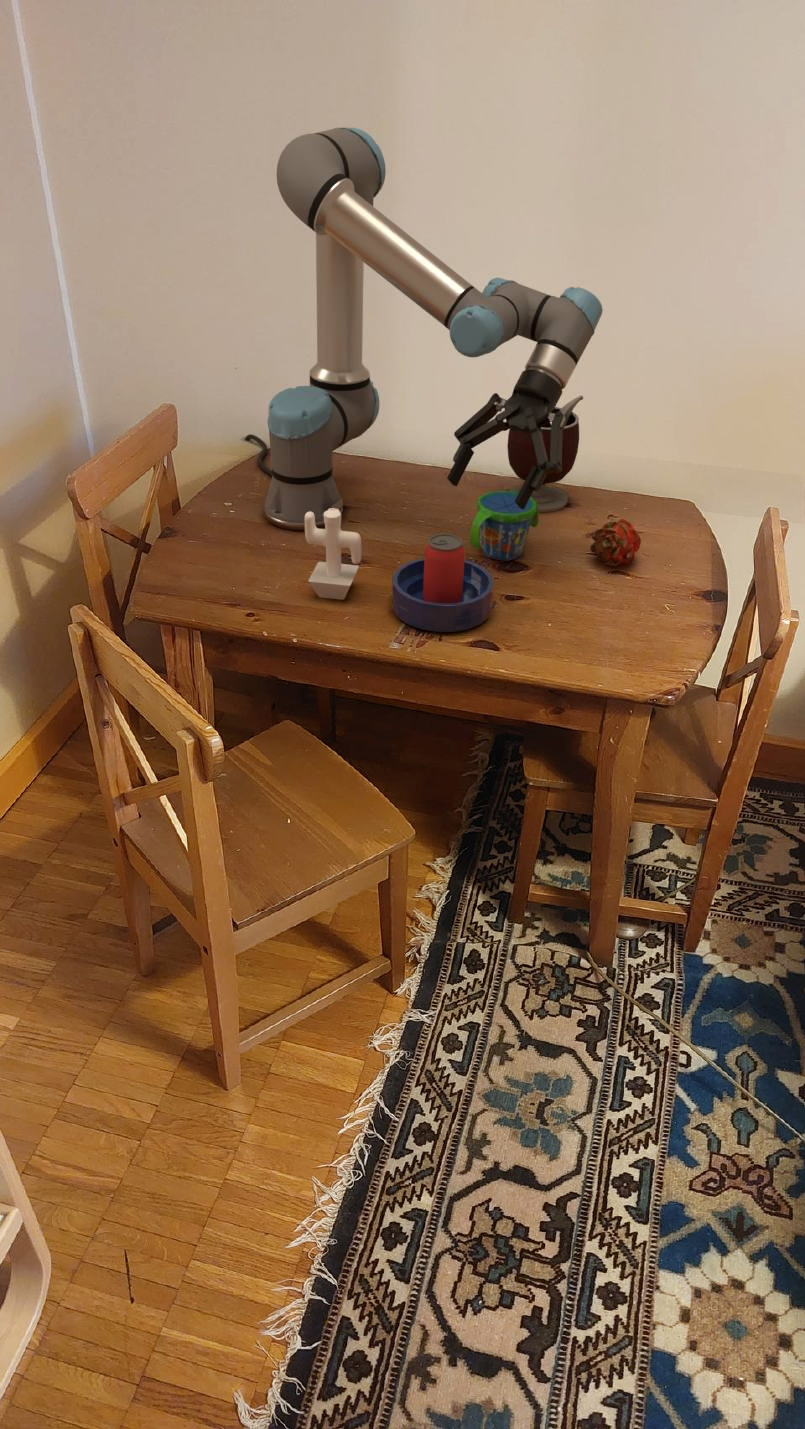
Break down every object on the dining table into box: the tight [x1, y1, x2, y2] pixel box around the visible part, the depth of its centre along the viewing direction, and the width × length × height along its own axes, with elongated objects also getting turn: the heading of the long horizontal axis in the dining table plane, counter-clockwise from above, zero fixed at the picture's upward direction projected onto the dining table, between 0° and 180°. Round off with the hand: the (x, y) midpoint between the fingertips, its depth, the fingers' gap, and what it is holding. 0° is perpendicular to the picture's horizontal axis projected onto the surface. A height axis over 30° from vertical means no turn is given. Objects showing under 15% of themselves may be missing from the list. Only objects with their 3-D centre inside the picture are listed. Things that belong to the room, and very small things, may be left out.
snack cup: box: [468, 490, 540, 562], centre depth 183 cm, size 16×10×10 cm
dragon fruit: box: [589, 518, 642, 567], centre depth 183 cm, size 8×8×12 cm
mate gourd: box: [507, 395, 584, 513], centre depth 200 cm, size 16×14×20 cm
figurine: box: [304, 508, 362, 601], centre depth 169 cm, size 7×9×15 cm
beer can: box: [423, 533, 466, 603], centre depth 166 cm, size 7×7×12 cm
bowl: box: [391, 557, 495, 633], centre depth 168 cm, size 17×17×6 cm
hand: (484, 493), depth 166 cm, fingers open, 13 cm apart
